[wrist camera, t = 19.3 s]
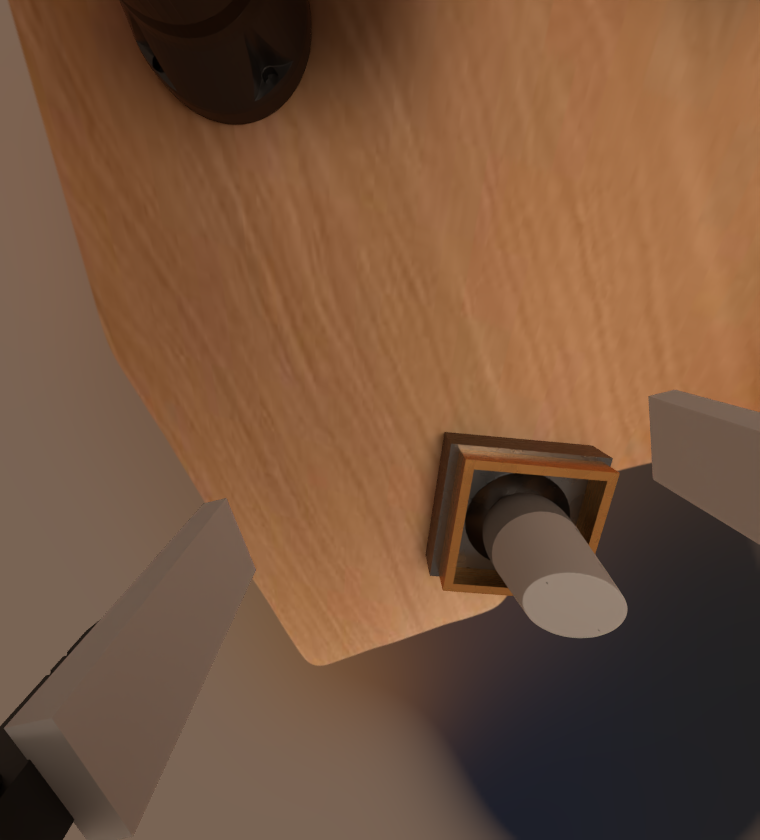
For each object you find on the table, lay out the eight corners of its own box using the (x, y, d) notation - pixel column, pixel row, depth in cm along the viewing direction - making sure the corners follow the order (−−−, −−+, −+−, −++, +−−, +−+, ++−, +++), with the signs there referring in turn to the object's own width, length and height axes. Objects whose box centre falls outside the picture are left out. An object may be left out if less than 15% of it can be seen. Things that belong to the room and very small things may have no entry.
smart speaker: (459, 521, 43) (497, 618, 30) (521, 468, 41) (591, 545, 28) (512, 569, 45) (570, 680, 32) (574, 520, 43) (663, 616, 30)
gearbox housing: (425, 554, 49) (433, 593, 43) (444, 432, 45) (457, 453, 38) (559, 565, 50) (588, 605, 43) (592, 445, 45) (630, 469, 38)
